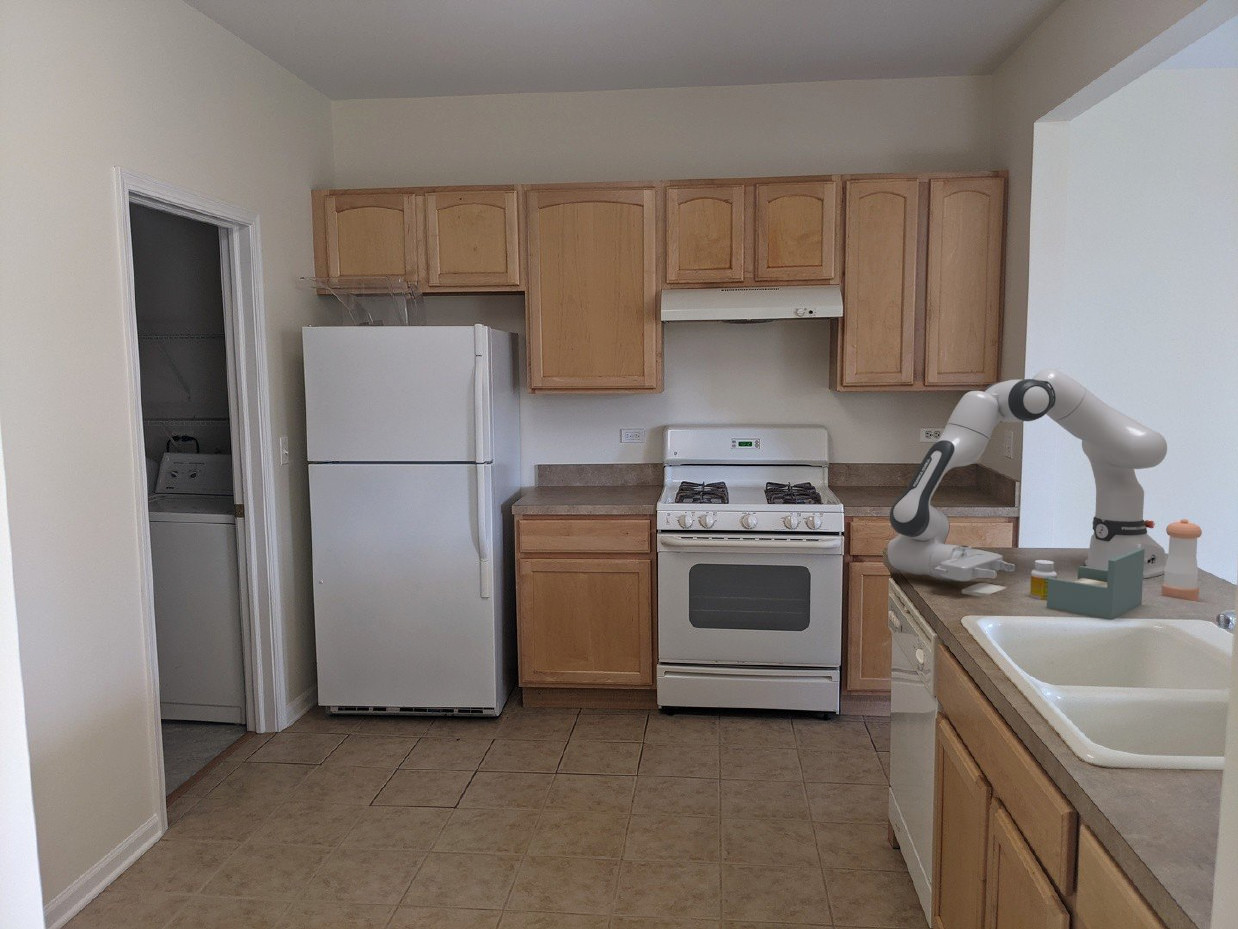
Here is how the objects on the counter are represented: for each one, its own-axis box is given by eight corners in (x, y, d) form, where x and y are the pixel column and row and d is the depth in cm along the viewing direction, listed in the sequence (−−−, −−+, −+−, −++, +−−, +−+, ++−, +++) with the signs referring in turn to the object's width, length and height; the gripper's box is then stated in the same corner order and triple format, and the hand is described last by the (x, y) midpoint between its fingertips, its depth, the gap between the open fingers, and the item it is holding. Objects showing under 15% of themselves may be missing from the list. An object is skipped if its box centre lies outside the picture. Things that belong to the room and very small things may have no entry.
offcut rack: (1046, 614, 195) (1049, 551, 194) (1078, 599, 207) (1081, 540, 206) (1111, 626, 185) (1114, 561, 184) (1141, 610, 198) (1144, 548, 196)
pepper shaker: (1163, 595, 211) (1168, 515, 209) (1199, 600, 206) (1205, 518, 204) (1158, 601, 205) (1163, 519, 203) (1195, 606, 201) (1201, 523, 199)
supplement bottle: (1043, 607, 201) (1045, 565, 200) (1024, 601, 206) (1026, 560, 205) (1060, 604, 203) (1062, 562, 202) (1041, 599, 208) (1043, 558, 207)
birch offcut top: (1060, 592, 196) (1060, 585, 196) (1082, 584, 203) (1082, 578, 203) (1103, 600, 189) (1103, 593, 189) (1124, 591, 196) (1124, 585, 196)
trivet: (961, 593, 214) (961, 589, 214) (980, 586, 220) (981, 582, 220) (1002, 601, 206) (1003, 596, 206) (1021, 593, 213) (1021, 589, 213)
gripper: (929, 556, 214) (985, 565, 203) (969, 544, 227) (1023, 552, 217) (928, 581, 214) (984, 592, 204) (968, 568, 228) (1022, 577, 218)
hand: (1004, 571), depth 211 cm, fingers open, 8 cm apart
